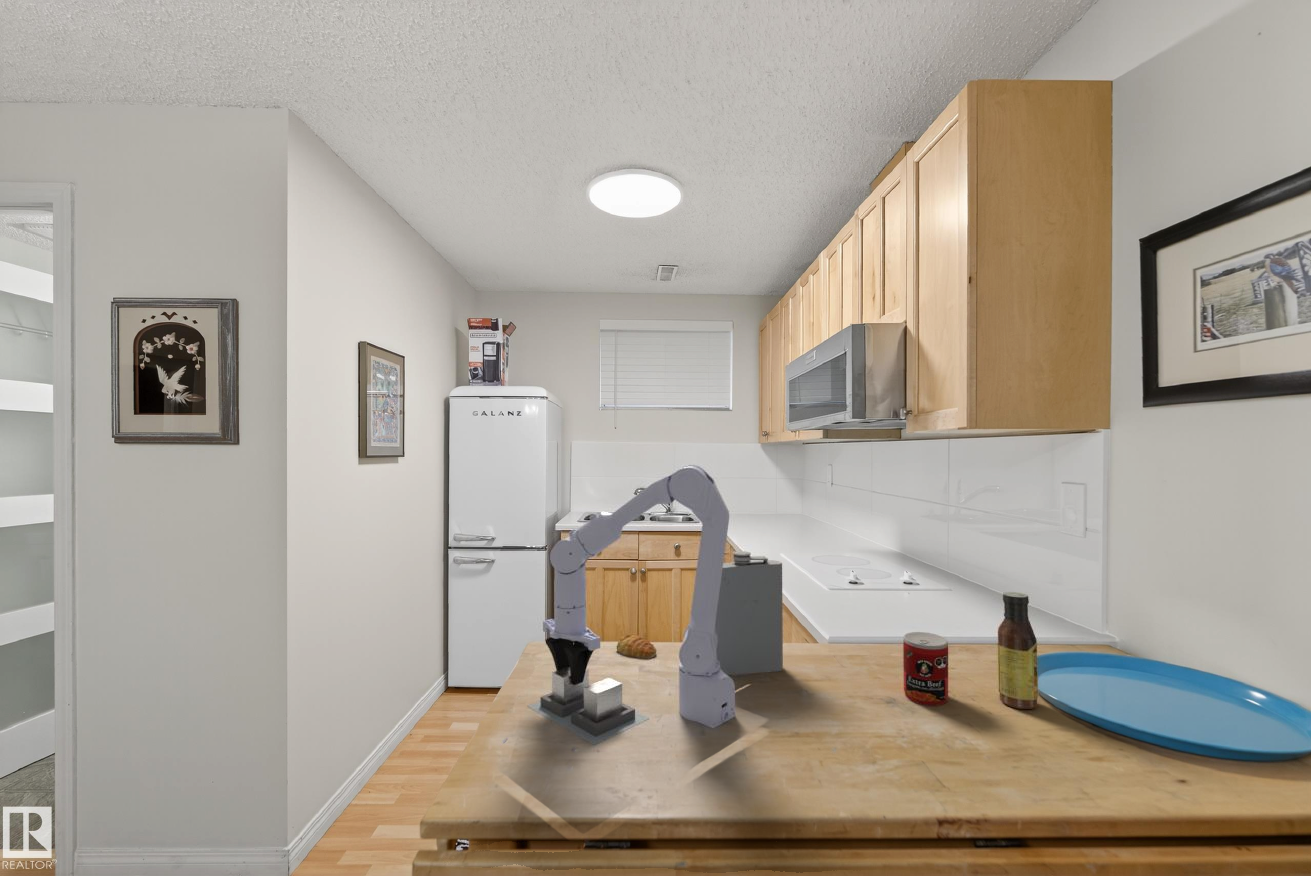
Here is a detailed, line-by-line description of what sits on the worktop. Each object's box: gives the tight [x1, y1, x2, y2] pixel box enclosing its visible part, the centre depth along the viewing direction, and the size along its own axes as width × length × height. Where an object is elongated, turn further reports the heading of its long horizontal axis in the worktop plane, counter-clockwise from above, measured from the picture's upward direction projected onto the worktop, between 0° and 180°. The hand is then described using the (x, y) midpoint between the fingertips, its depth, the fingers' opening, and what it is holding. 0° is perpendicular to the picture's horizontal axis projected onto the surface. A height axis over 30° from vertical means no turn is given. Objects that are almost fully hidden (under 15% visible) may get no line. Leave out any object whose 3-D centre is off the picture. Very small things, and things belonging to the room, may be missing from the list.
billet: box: [584, 677, 623, 723], centre depth 100 cm, size 4×6×6 cm, turn 135°
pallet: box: [527, 692, 650, 746], centre depth 103 cm, size 19×12×3 cm, turn 45°
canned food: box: [902, 631, 949, 706], centre depth 111 cm, size 8×8×11 cm
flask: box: [715, 550, 784, 677], centre depth 124 cm, size 17×5×25 cm, turn 106°
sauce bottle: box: [996, 591, 1039, 710], centre depth 108 cm, size 7×6×20 cm
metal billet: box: [551, 666, 590, 706], centre depth 106 cm, size 4×6×6 cm, turn 135°
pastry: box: [616, 633, 657, 660], centre depth 134 cm, size 9×7×4 cm
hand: (570, 679), depth 106 cm, fingers closed on metal billet, 3 cm apart
